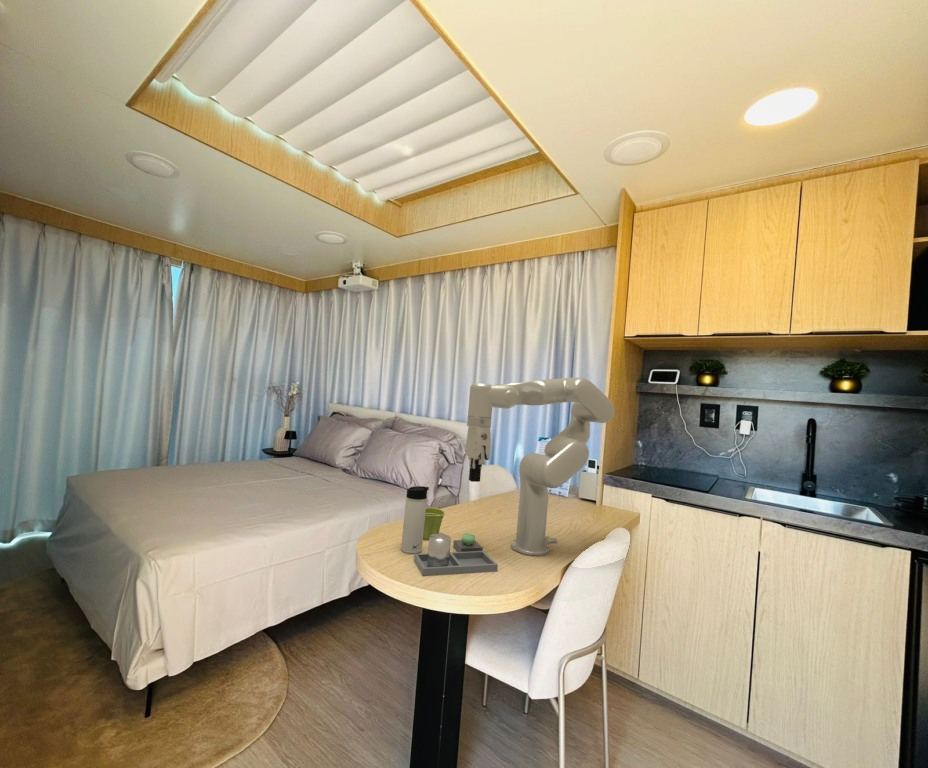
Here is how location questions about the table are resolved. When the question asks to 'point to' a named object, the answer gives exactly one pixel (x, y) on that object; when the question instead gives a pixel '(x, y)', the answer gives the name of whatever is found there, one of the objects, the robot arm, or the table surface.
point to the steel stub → (438, 550)
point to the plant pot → (432, 522)
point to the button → (468, 539)
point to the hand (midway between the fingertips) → (474, 480)
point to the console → (466, 546)
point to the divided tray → (458, 564)
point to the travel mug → (414, 520)
